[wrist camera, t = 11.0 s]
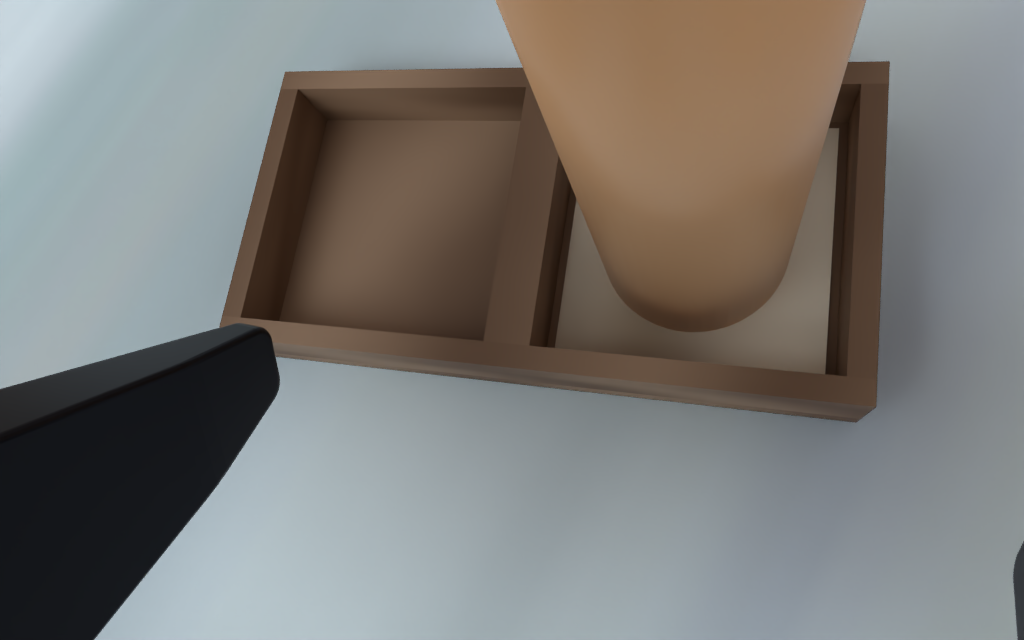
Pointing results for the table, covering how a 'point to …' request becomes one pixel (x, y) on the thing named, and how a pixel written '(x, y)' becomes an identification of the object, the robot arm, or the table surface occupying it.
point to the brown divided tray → (534, 251)
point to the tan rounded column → (688, 137)
